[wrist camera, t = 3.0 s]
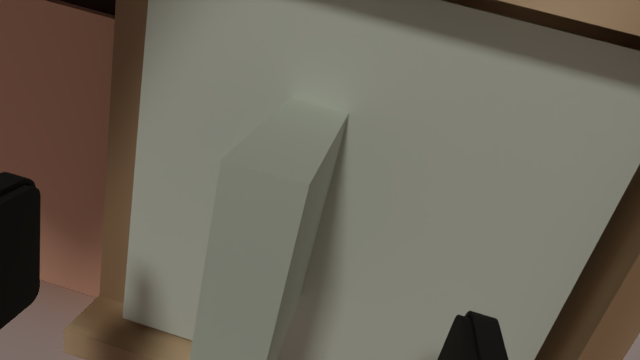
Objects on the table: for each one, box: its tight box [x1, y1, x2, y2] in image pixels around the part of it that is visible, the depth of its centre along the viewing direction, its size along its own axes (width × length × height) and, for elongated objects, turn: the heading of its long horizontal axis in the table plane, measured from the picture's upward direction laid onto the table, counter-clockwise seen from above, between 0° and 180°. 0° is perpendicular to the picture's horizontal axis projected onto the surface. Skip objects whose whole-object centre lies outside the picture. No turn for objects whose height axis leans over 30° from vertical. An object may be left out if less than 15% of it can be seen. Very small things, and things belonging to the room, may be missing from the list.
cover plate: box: [123, 0, 640, 360], centre depth 12 cm, size 13×12×6 cm
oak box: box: [64, 0, 640, 360], centre depth 16 cm, size 16×15×5 cm
